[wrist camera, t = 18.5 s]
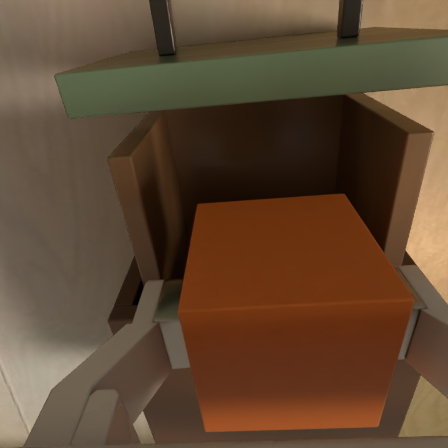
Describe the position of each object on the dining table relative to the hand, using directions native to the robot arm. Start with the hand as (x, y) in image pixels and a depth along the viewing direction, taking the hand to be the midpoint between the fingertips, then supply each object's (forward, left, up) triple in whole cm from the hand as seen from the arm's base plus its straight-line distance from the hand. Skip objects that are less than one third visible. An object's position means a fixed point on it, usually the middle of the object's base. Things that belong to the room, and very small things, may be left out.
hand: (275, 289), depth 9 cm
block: (0, 0, -2) cm, 2 cm away
